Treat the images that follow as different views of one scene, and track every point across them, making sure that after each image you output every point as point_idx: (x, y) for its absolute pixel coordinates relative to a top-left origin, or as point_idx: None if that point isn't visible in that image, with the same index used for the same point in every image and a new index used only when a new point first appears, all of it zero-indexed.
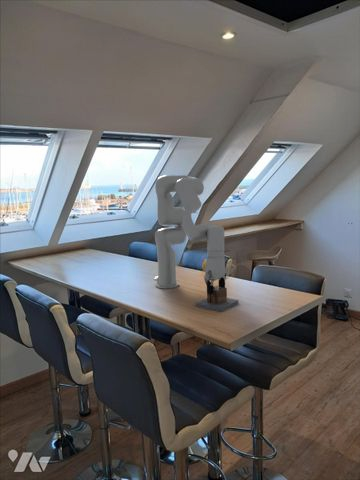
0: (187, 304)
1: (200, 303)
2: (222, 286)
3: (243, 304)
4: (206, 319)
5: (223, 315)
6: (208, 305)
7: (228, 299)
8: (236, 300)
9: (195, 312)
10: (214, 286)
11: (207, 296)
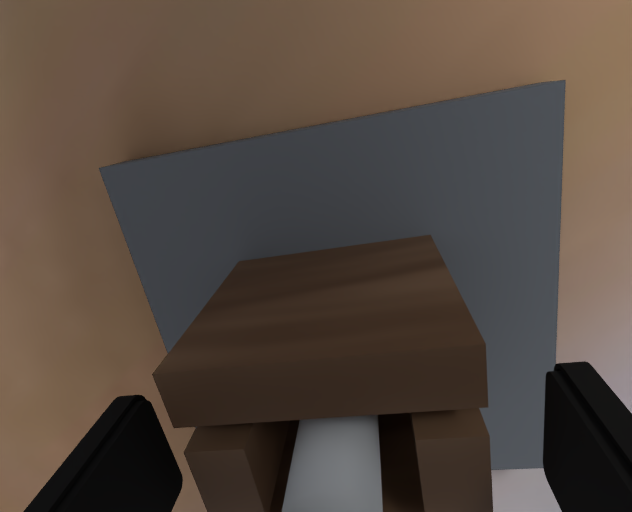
0: (84, 7)
1: (147, 225)
2: (565, 481)
3: (532, 481)
4: (29, 448)
5: (183, 489)
6: (176, 340)
7: (509, 381)
8: (528, 459)
9: (29, 292)
10: (455, 359)
11: (211, 307)
